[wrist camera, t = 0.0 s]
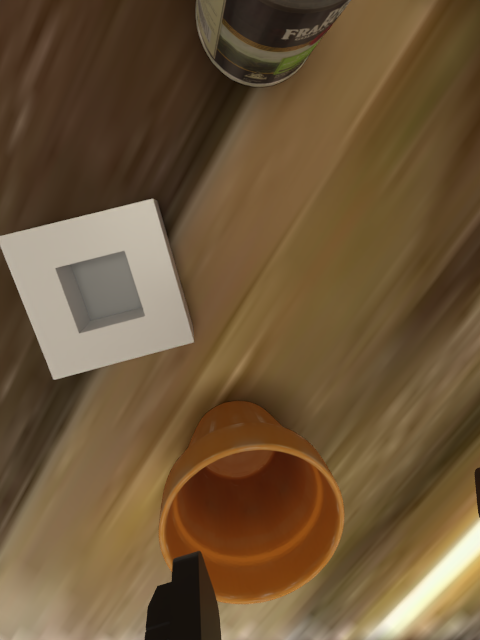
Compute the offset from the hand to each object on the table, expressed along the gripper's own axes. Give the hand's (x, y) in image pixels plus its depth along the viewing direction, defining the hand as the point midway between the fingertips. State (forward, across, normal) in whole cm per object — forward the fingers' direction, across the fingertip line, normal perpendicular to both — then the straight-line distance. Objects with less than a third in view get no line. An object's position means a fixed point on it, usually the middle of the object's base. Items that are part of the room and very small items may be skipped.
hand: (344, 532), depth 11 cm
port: (+29, +10, -5) cm, 31 cm away
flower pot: (+30, +3, +14) cm, 33 cm away
